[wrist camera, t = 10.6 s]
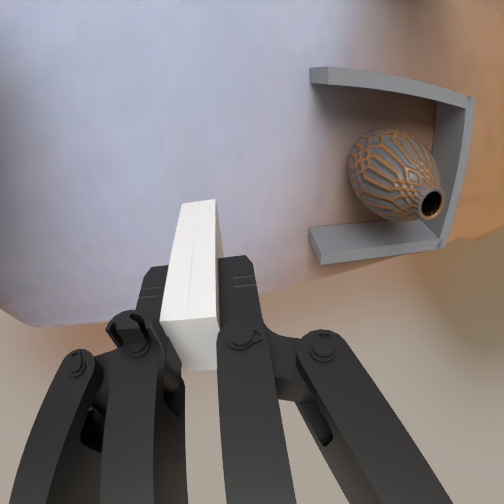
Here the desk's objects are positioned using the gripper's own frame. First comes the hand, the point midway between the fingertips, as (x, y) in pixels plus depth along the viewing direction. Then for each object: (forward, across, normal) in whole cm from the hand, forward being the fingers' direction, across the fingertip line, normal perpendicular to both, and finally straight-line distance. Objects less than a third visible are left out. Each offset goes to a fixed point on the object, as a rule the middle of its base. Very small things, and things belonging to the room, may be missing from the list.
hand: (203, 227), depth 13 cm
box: (+10, +15, -1) cm, 17 cm away
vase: (+10, +14, -1) cm, 17 cm away
